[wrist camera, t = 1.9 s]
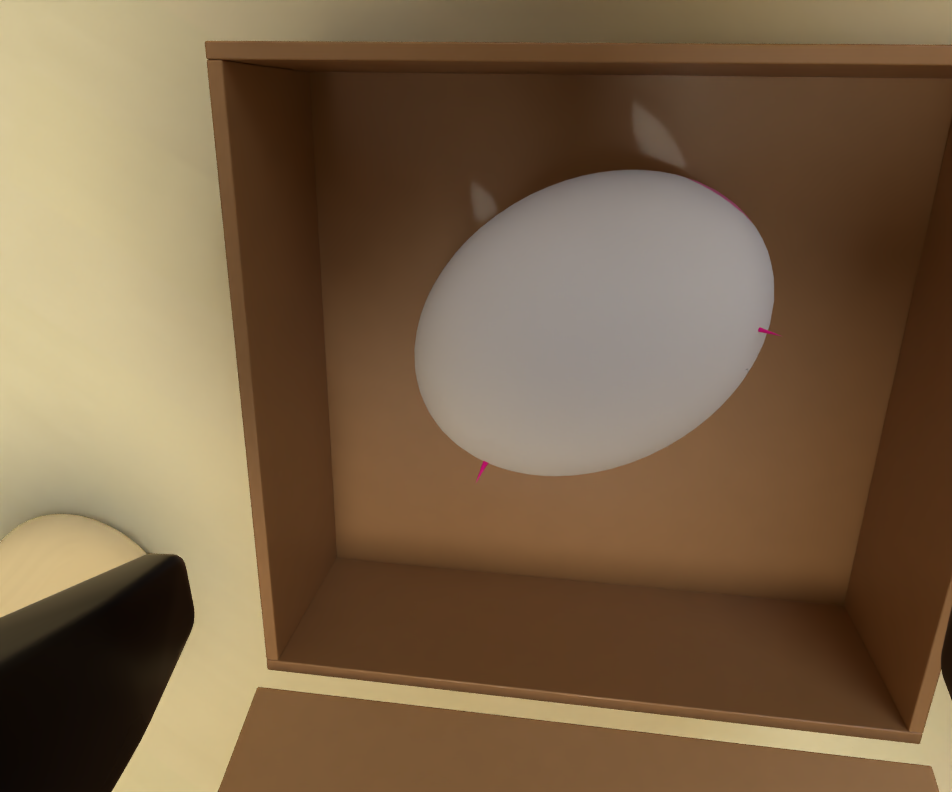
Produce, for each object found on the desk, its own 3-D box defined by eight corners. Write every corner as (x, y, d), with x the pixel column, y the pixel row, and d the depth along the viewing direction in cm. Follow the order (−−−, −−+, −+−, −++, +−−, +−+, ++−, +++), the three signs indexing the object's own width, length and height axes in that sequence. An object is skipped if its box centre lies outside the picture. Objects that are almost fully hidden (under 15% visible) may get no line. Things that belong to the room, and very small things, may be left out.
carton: (972, 63, 16) (1120, 45, 11) (849, 608, 21) (919, 744, 16) (301, 58, 18) (203, 41, 13) (331, 559, 23) (267, 670, 18)
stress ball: (513, 383, 23) (561, 588, 19) (340, 213, 17) (356, 452, 13) (754, 260, 20) (871, 465, 16) (645, 13, 15) (783, 231, 11)
